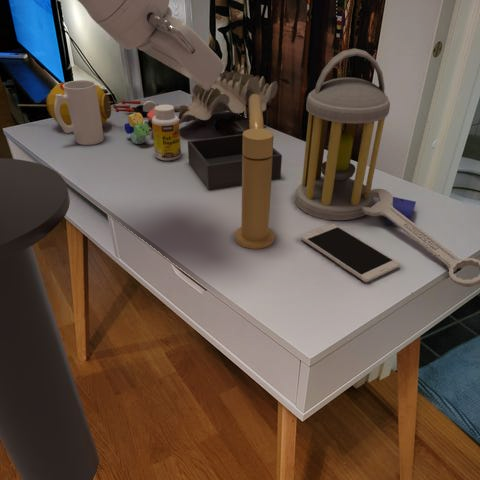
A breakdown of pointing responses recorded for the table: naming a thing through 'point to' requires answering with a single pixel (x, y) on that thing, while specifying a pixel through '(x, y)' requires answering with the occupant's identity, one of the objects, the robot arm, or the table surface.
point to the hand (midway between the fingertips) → (206, 84)
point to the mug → (81, 111)
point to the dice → (137, 128)
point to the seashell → (227, 96)
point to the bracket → (402, 208)
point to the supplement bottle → (166, 133)
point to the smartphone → (350, 252)
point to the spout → (257, 132)
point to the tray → (223, 161)
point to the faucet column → (255, 204)
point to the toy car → (232, 125)
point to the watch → (145, 108)
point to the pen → (176, 108)
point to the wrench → (420, 236)
